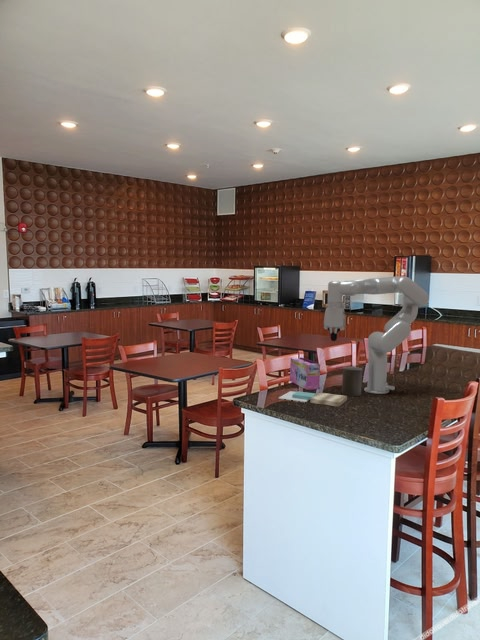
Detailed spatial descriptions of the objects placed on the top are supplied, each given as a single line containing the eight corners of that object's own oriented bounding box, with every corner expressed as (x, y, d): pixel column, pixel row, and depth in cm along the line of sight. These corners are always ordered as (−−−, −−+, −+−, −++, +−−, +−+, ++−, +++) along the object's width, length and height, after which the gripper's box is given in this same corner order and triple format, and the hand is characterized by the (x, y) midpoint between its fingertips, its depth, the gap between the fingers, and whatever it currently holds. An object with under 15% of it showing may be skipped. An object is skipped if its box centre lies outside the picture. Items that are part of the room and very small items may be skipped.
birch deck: (346, 399, 237) (347, 395, 237) (339, 406, 225) (339, 402, 225) (319, 396, 244) (319, 392, 244) (310, 402, 231) (310, 398, 231)
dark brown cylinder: (347, 397, 243) (348, 367, 242) (338, 392, 253) (339, 364, 251) (364, 396, 246) (366, 367, 245) (355, 391, 255) (356, 363, 254)
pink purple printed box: (288, 380, 280) (288, 357, 279) (300, 379, 283) (301, 356, 282) (306, 389, 258) (307, 364, 257) (319, 389, 260) (320, 364, 259)
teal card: (316, 396, 241) (316, 393, 241) (311, 400, 234) (311, 397, 233) (297, 394, 245) (297, 391, 245) (292, 397, 238) (292, 394, 238)
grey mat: (316, 395, 246) (316, 394, 246) (305, 402, 231) (305, 401, 231) (290, 392, 252) (290, 391, 252) (278, 398, 238) (278, 397, 238)
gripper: (351, 305, 249) (349, 341, 251) (323, 304, 256) (321, 339, 257) (347, 306, 242) (346, 342, 244) (318, 305, 249) (317, 340, 251)
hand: (333, 340), depth 251 cm, fingers closed
